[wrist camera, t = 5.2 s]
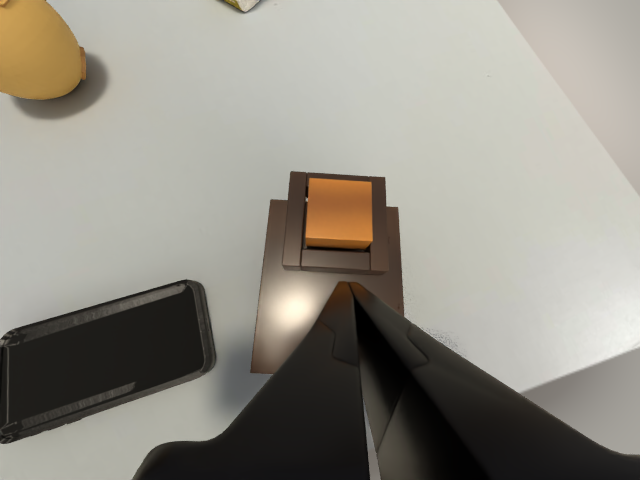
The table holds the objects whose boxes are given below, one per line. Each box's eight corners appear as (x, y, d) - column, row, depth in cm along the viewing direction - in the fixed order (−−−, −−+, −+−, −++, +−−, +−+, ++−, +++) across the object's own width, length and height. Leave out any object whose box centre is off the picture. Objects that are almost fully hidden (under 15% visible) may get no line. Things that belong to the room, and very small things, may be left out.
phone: (-3, 333, 18) (195, 276, 20) (15, 332, 19) (201, 277, 21) (-10, 451, 16) (212, 374, 18) (10, 442, 17) (218, 371, 19)
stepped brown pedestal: (383, 362, 20) (421, 388, 13) (264, 357, 20) (242, 381, 13) (379, 215, 24) (406, 178, 17) (280, 209, 24) (268, 169, 17)
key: (364, 249, 16) (372, 241, 14) (305, 246, 16) (305, 237, 14) (364, 196, 17) (371, 181, 15) (309, 193, 17) (309, 177, 15)
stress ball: (101, 118, 26) (-22, 4, 16) (2, 124, 25) (-189, 7, 15) (113, 52, 28) (14, -79, 19) (24, 55, 28) (-126, -80, 18)
